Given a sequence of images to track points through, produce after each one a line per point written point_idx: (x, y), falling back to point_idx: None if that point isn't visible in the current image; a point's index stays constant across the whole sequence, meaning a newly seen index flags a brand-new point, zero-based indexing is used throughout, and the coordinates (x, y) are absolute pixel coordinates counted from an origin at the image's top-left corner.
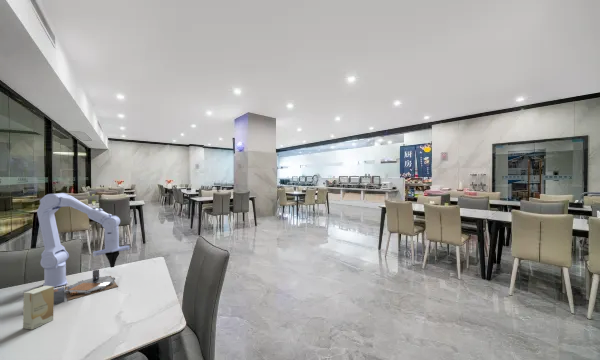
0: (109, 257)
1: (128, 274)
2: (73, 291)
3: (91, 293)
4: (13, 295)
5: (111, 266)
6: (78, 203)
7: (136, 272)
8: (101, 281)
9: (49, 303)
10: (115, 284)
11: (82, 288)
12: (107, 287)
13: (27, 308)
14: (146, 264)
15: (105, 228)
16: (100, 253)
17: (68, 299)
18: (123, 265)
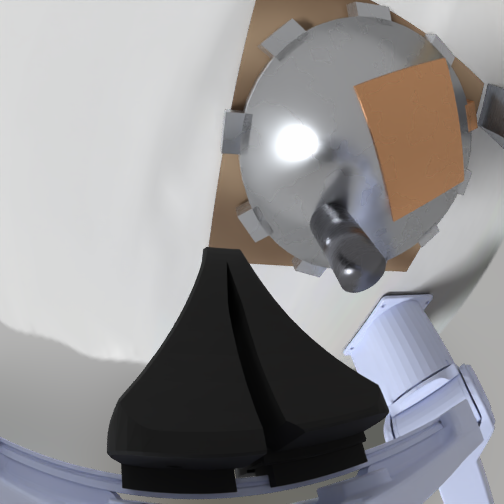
0: (325, 374)
1: (98, 195)
2: (468, 131)
3: (420, 30)
4: (455, 305)
5: (241, 255)
6: None
7: (49, 194)
8: (332, 137)
9: None
10: (261, 15)
11: (445, 119)
12: (328, 13)
13: None
14: (14, 294)
15: None
16: (411, 452)
17: (481, 85)
18: (119, 359)
